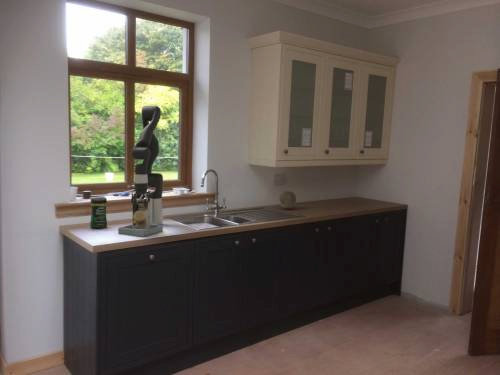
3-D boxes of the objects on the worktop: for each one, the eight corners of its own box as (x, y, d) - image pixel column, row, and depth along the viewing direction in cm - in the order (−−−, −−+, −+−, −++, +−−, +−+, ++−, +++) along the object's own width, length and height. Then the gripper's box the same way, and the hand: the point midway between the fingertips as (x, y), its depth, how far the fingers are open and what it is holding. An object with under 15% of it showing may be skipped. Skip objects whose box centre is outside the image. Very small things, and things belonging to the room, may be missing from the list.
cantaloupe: (298, 210, 354) (299, 192, 352) (281, 210, 351) (282, 192, 349) (292, 207, 367) (293, 190, 366) (277, 207, 364) (277, 190, 363)
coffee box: (131, 229, 250) (131, 201, 248) (134, 226, 256) (134, 200, 254) (147, 229, 250) (147, 201, 248) (150, 227, 256) (150, 200, 254)
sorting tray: (138, 228, 265) (138, 222, 264) (162, 231, 257) (162, 225, 257) (118, 233, 248) (118, 227, 248) (143, 237, 241) (143, 231, 241)
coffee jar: (92, 229, 258) (91, 198, 257) (89, 226, 265) (88, 196, 263) (108, 227, 264) (108, 197, 262) (105, 225, 270) (105, 196, 268)
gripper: (143, 180, 258) (143, 207, 260) (127, 182, 245) (127, 210, 247) (153, 181, 255) (153, 208, 256) (138, 183, 242) (138, 212, 244)
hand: (140, 209), depth 252 cm, fingers closed on coffee box, 8 cm apart
